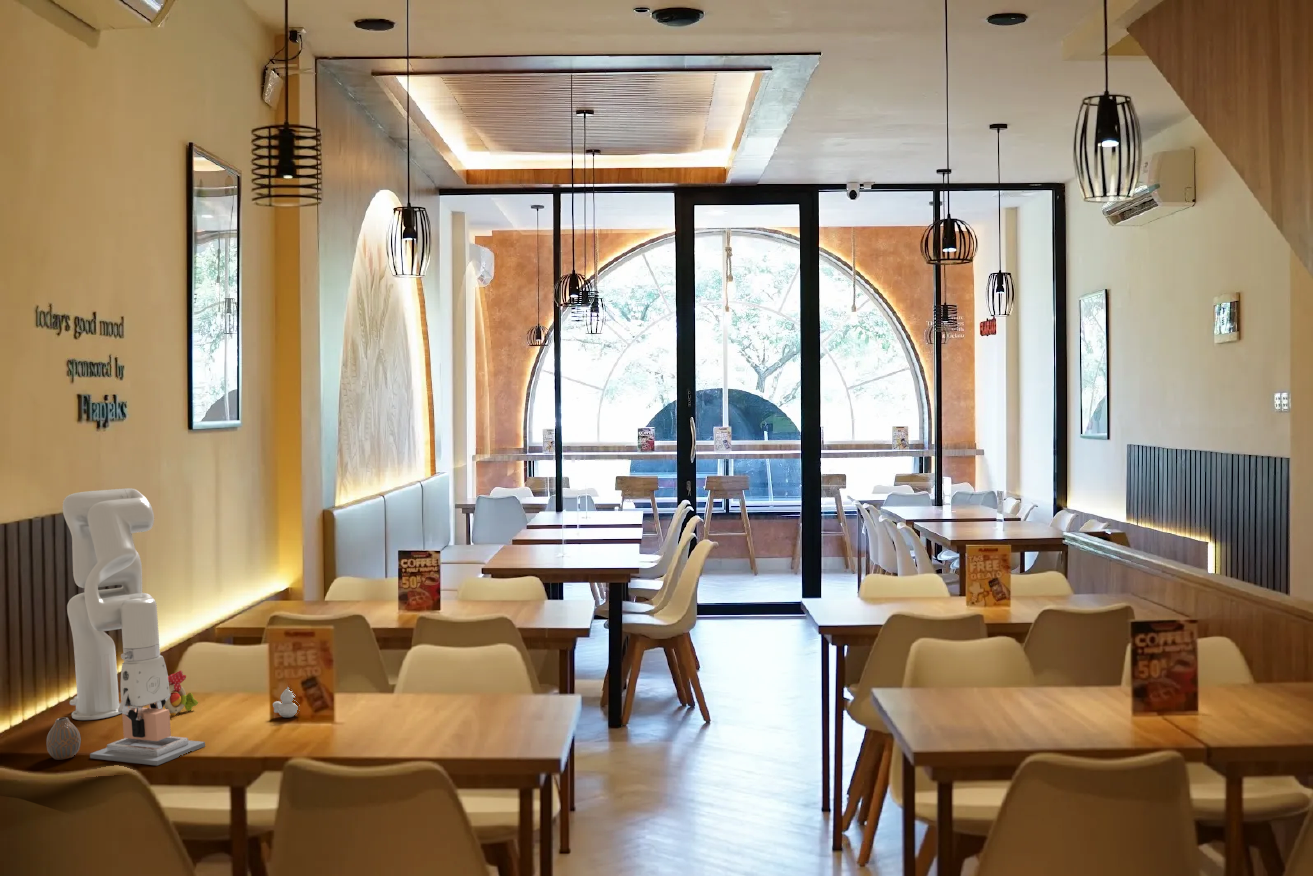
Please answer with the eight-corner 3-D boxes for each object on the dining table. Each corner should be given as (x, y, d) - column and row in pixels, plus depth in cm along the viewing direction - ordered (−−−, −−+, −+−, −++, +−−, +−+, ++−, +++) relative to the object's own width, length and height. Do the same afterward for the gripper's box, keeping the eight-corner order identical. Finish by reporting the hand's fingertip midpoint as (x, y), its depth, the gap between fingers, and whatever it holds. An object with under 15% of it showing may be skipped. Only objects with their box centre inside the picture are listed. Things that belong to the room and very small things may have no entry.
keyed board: (90, 758, 263) (89, 747, 263) (139, 739, 276) (139, 729, 276) (157, 765, 255) (156, 754, 255) (205, 746, 268) (204, 735, 268)
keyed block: (157, 741, 261) (155, 714, 261) (123, 738, 265) (122, 711, 265) (170, 736, 265) (169, 709, 265) (137, 733, 269) (136, 707, 269)
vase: (71, 750, 270) (68, 713, 269) (87, 754, 266) (85, 716, 265) (41, 759, 264) (38, 720, 264) (57, 763, 260) (54, 724, 260)
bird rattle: (185, 724, 296) (203, 701, 304) (171, 688, 291) (190, 666, 299) (163, 723, 297) (182, 700, 305) (149, 688, 292) (169, 666, 300)
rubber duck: (295, 719, 287) (293, 687, 287) (269, 720, 288) (267, 688, 287) (303, 713, 292) (301, 681, 292) (278, 714, 293) (276, 682, 293)
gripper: (124, 662, 255) (129, 746, 256) (182, 646, 271) (187, 724, 271) (98, 661, 258) (104, 743, 259) (158, 644, 274) (163, 722, 274)
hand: (147, 733), depth 265 cm, fingers closed on keyed block, 4 cm apart
